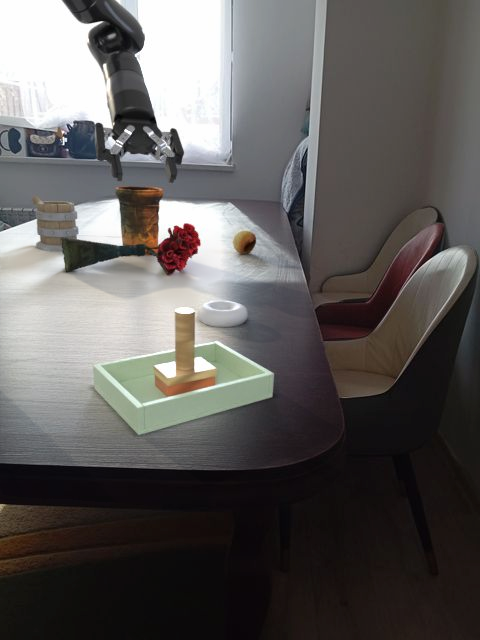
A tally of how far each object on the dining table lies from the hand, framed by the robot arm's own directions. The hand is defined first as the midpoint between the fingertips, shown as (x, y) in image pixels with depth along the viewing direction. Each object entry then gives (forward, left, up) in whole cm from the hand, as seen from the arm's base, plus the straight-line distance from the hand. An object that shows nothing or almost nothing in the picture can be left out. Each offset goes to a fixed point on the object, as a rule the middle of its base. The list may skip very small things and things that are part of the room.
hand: (146, 178), depth 84 cm
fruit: (+60, +57, -27) cm, 87 cm away
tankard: (+9, +92, -27) cm, 96 cm away
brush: (-7, -25, -26) cm, 37 cm away
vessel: (+30, +71, -27) cm, 82 cm away
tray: (-7, -26, -27) cm, 38 cm away
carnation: (+17, +47, -27) cm, 56 cm away
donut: (+15, -1, -27) cm, 31 cm away
